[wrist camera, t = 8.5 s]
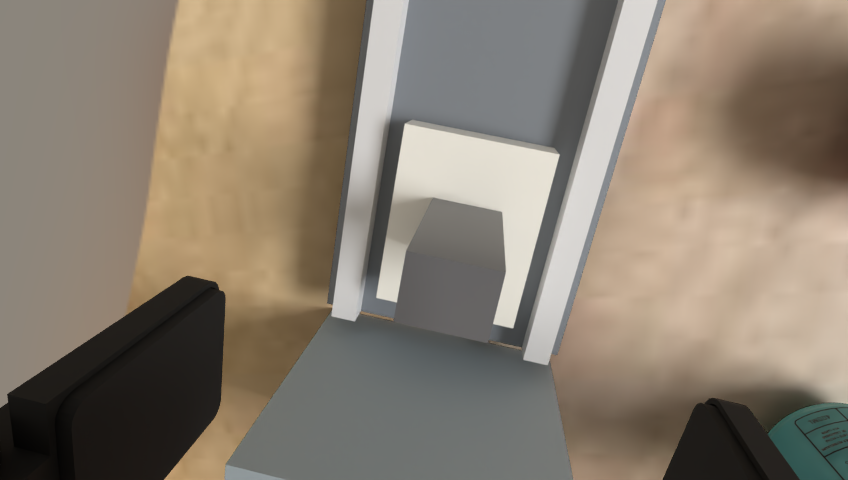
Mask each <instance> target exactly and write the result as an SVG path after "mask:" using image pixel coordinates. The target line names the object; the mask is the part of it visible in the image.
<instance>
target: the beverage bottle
mask: <svg viewBox="0 0 848 480" xmlns="http://www.w3.org/2000/svg"><path fill="white" fill-rule="evenodd" d="M768 436H769V437H770V439H771V440H772V441H773V443H774V444H775V446H776V447H777V448H778V450H779V451H780V453H781V454H782V455H783V457H784V458H785V459H786V461H787V462H788V464H789V465H790V466H791V468H792V469H793V471H794V472H795V473H796V475H797V476H798V478H799V479H800V480H848V404H844V403H823V404H817V405H812V406H809V407H805V408H802V409H800V410H797V411H795V412H793V413H791V414H789V415H788V416H786V417H785V418H783V419H782V420H781V421H779V422H778V423H777V424H776V425H775V426H774V427H773V428H772V429H771V430H770V432H769V433H768Z"/></svg>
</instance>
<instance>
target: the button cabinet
mask: <svg viewBox="0 0 848 480" xmlns="http://www.w3.org/2000/svg"><path fill="white" fill-rule="evenodd" d="M331 315H332V311H331V312H330V314H329V315H328V317H327V318H326V320H325V321H324V322H323V324H322V325H321V327H320V328H319V330H318V331H317V333H316V334H315V336H314V337H313V338H312V340H311V341H310V343H309V344H308V346H307V347H306V349H305V350H304V351H303V353H302V354H301V356H300V357H299V359H298V360H297V362H296V363H295V365H294V366H293V367H292V369H291V370H290V372H289V373H288V375H287V376H286V378H285V379H284V380H283V382H282V383H281V385H280V386H279V388H278V389H277V391H276V392H275V394H274V395H273V396H272V398H271V399H270V401H269V402H268V404H267V405H266V407H265V408H264V410H263V411H262V412H261V414H260V415H259V417H258V418H257V420H256V421H255V423H254V424H253V425H252V427H251V428H250V430H249V431H248V433H247V434H246V436H245V437H244V439H243V440H242V441H241V443H240V444H239V446H238V447H237V449H236V450H235V452H234V453H233V455H232V456H231V457H230V459H229V460H228V462H227V463H226V466H225V480H573V476H572V471H571V466H570V461H569V455H568V450H567V445H566V440H565V435H564V430H563V425H562V420H561V415H560V410H559V405H558V400H557V395H556V389H555V384H554V379H553V374H552V369H551V364H550V360H549V363H548V365H544V364H540V363H535V362H531V361H526V360H523V354H522V350H517V349H513V348H508V347H504V346H499V345H495V344H491V343H484V342H480V341H475V340H471V339H467V338H462V337H458V336H453V335H449V334H445V333H440V332H436V331H431V330H427V329H422V328H418V327H414V326H409V325H405V324H400V323H396V322H393V321H389V320H384V319H380V318H376V317H371V316H367V315H362V314H359V315H358V317H357V319H356V320H355V321H350V320H346V319H341V318H337V317H333V316H331Z"/></svg>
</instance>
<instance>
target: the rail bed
mask: <svg viewBox="0 0 848 480" xmlns="http://www.w3.org/2000/svg"><path fill="white" fill-rule="evenodd" d="M665 1H666V0H367V1H366V9H365V17H364V24H363V32H362V40H361V47H360V55H359V63H358V70H357V78H356V86H355V93H354V101H353V109H352V117H351V124H350V132H349V140H348V147H347V155H346V163H345V170H344V178H343V186H342V193H341V201H340V209H339V216H338V224H337V232H336V239H335V247H334V255H333V262H332V270H331V278H330V286H329V293H328V301H327V303H328V304H332V305H333V308H332V315H331V316H333V317H337V318H341V319H346V320H350V321H355V320H356V319H357V317H358V315H359V313H360V311H363V312H368V313H372V314H377V315H381V316H385V317H390V318H394V315H395V309H396V304H397V302H392V301H388V300H384V299H379V298H376V295H377V289H378V283H379V277H380V271H381V265H382V259H383V253H384V246H385V240H386V234H387V228H388V222H389V216H390V210H391V204H392V198H393V192H394V186H395V180H396V174H397V167H398V161H399V155H400V149H401V143H402V137H403V131H404V125H405V123H407V122H409V121H411V120H416V121H421V122H426V123H431V124H436V125H441V126H446V127H452V128H457V129H462V130H467V131H472V132H477V133H482V134H487V135H492V136H497V137H502V138H507V139H512V140H517V141H522V142H527V143H532V144H537V145H542V146H547V147H552V148H555V149H556V151H557V152H558V153H559V154H560V156H559V159H558V163H557V167H556V170H555V174H554V178H553V182H552V185H551V189H550V193H549V197H548V200H547V204H546V208H545V212H544V215H543V219H542V223H541V226H540V230H539V234H538V238H537V241H536V245H535V249H534V253H533V256H532V260H531V264H530V268H529V271H528V275H527V279H526V282H525V286H524V290H523V294H522V297H521V301H520V305H519V309H518V312H517V316H516V320H515V323H514V327H513V328H509V327H504V326H500V325H495V324H493V326H492V330H491V334H490V338H489V340H492V341H496V342H501V343H505V344H510V345H514V346H518V347H522V354H523V360H526V361H531V362H535V363H540V364H544V365H548V363H549V360H550V356H551V354H554V355H557V354H558V351H559V348H560V345H561V341H562V338H563V335H564V331H565V328H566V325H567V322H568V318H569V315H570V312H571V309H572V305H573V302H574V299H575V296H576V292H577V289H578V286H579V282H580V279H581V276H582V273H583V269H584V266H585V263H586V260H587V256H588V253H589V250H590V247H591V243H592V240H593V237H594V233H595V230H596V227H597V224H598V220H599V217H600V214H601V211H602V207H603V204H604V201H605V197H606V194H607V191H608V188H609V184H610V181H611V178H612V175H613V171H614V168H615V165H616V162H617V158H618V155H619V152H620V148H621V145H622V142H623V139H624V135H625V132H626V129H627V126H628V122H629V119H630V116H631V113H632V109H633V106H634V103H635V99H636V96H637V93H638V90H639V86H640V83H641V80H642V77H643V73H644V70H645V67H646V63H647V60H648V57H649V54H650V50H651V47H652V44H653V41H654V37H655V34H656V31H657V28H658V24H659V21H660V18H661V14H662V11H663V8H664V5H665Z"/></svg>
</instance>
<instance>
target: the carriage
mask: <svg viewBox="0 0 848 480" xmlns="http://www.w3.org/2000/svg"><path fill="white" fill-rule="evenodd" d="M559 156H560V154H559V153H558V152H557V151H556V149H555V148H552V147H547V146H542V145H537V144H532V143H527V142H522V141H517V140H512V139H507V138H502V137H497V136H492V135H487V134H482V133H477V132H472V131H467V130H462V129H457V128H452V127H446V126H441V125H436V124H431V123H426V122H421V121H416V120H411V121H409V122H407V123H405V125H404V131H403V137H402V143H401V149H400V155H399V161H398V167H397V174H396V180H395V186H394V192H393V198H392V204H391V210H390V216H389V222H388V228H387V234H386V240H385V246H384V253H383V259H382V265H381V271H380V277H379V283H378V289H377V295H376V298H379V299H384V300H388V301H392V302H397V304H396V309H395V315H394V321H393V322H396V323H400V324H405V325H409V326H414V327H418V328H422V329H427V330H431V331H436V332H440V333H445V334H449V335H453V336H458V337H462V338H467V339H471V340H475V341H480V342H484V343H488V342H489V338H490V334H491V330H492V326H493V324H495V325H500V326H504V327H509V328H513V327H514V323H515V320H516V316H517V312H518V309H519V305H520V301H521V297H522V294H523V290H524V286H525V282H526V279H527V275H528V271H529V268H530V264H531V260H532V256H533V253H534V249H535V245H536V241H537V238H538V234H539V230H540V226H541V223H542V219H543V215H544V212H545V208H546V204H547V200H548V197H549V193H550V189H551V185H552V182H553V178H554V174H555V170H556V167H557V163H558V159H559Z"/></svg>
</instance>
